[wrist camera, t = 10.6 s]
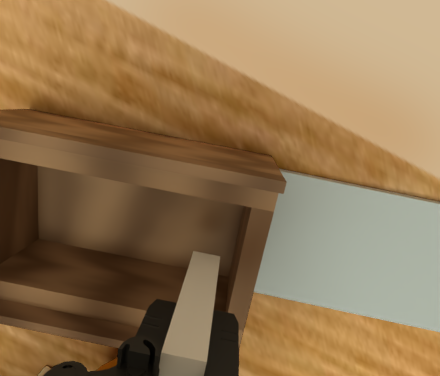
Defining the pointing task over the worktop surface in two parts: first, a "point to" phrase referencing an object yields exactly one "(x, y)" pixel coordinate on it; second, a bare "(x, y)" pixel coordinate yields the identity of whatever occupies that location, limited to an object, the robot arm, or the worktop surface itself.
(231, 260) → the box
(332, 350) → the worktop surface
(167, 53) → the worktop surface
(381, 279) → the cover plate
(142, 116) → the worktop surface
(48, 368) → the supplement box
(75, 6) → the worktop surface
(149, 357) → the robot arm
